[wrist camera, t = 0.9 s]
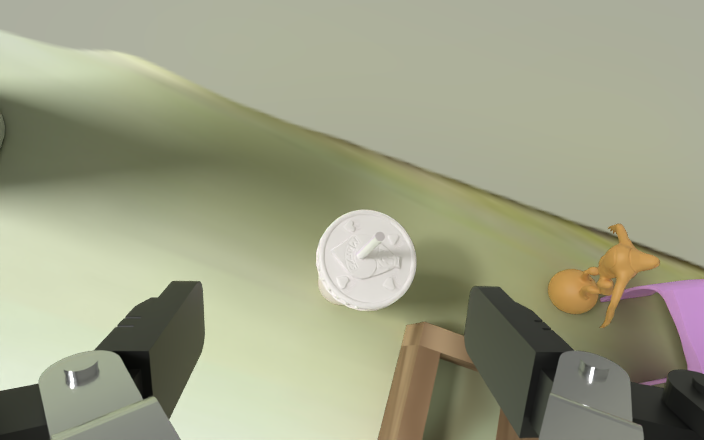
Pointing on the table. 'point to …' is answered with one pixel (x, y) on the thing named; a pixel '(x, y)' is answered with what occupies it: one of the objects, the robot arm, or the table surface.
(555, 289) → the figurine
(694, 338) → the toy chair
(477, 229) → the table surface
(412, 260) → the smoothie
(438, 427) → the holder
